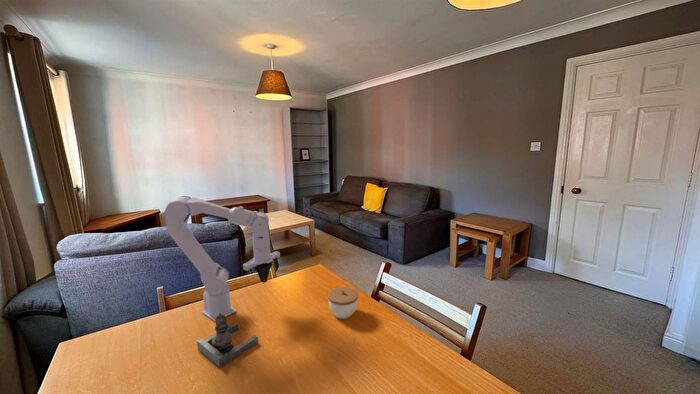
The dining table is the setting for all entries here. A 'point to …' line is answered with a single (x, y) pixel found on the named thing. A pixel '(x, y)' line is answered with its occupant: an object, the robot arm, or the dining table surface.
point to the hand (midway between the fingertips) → (263, 281)
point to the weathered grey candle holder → (222, 336)
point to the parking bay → (221, 359)
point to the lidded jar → (343, 301)
